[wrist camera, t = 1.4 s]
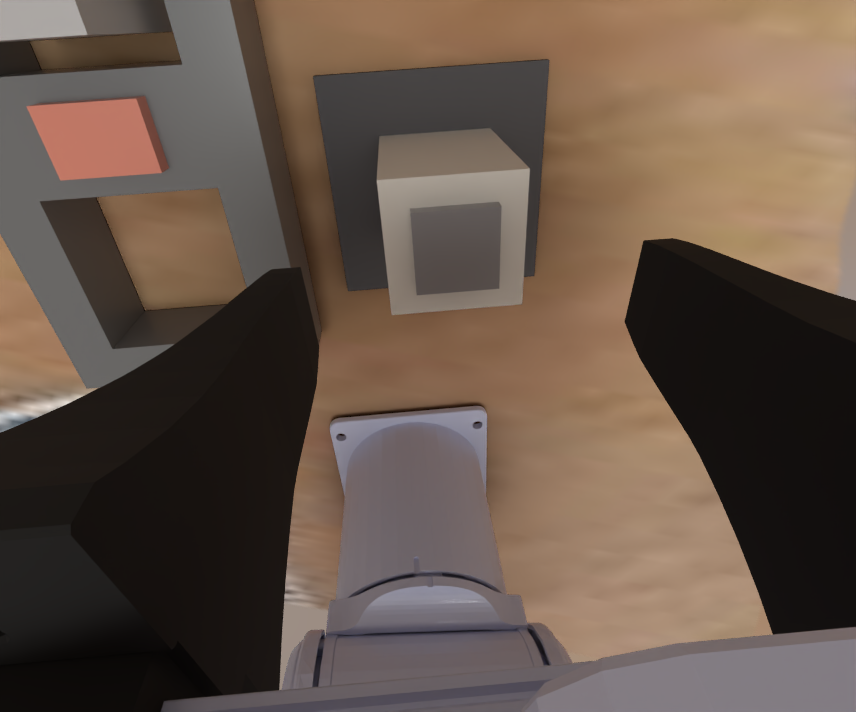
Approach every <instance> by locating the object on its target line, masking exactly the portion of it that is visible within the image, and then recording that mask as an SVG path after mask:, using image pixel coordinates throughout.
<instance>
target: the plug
mask: <svg viewBox="0 0 856 712" xmlns="http://www.w3.org/2000/svg"><path fill="white" fill-rule="evenodd" d="M529 175H530V168H529V167H528V166H527V165H526V164H525V163H524V162H523V161H522V160H521V159H520V158H519V157H518V156H517V155H516V154H515V153H514V152H513V151H512V150H511V149H510V148H509V147H508V146H507V145H506V144H505V143H504V142H503V141H502V140H501V139H500V138H499V137H498V136H497V135H496V134H495V133H494V132H493V131H492V130H491V129H490V128H484V129H471V130H457V131H444V132H430V133H416V134H403V135H389V136H379V150H378V166H377V188H378V197H379V206H380V215H381V224H382V233H383V242H384V251H385V260H386V269H387V278H388V287H389V296H390V305H391V314H392V315H400V314H412V313H424V312H436V311H448V310H460V309H472V308H484V307H496V306H508V305H520V304H522V298H523V280H524V263H525V245H526V228H527V210H528V192H529Z"/></svg>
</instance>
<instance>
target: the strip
mask: <svg viewBox="0 0 856 712" xmlns="http://www.w3.org/2000/svg"><path fill="white" fill-rule="evenodd" d="M159 32H173V34H174V37H175V41H176V44H177V48H178V51H179V54H180V58H181V61H166V62H152V63H137V64H123V65H108V66H94V67H79V68H64V69H50V70H41V69H40V66H39V64H38V62H37V59H36V57H35V55H34V52H33V50H32V48H31V45H30V43H29V41H35V40H55V39H70V38H84V37H99V36H114V35H129V34H144V33H159ZM209 188H218V190H219V193H220V197H221V200H222V204H223V207H224V211H225V214H226V218H227V221H228V224H229V228H230V231H231V235H232V238H233V242H234V245H235V249H236V252H237V256H238V259H239V263H240V266H241V270H242V273H243V276H244V280H245V283H246V287H249V286H250V285H251V284H252V283H253V282H255V281H256V280H257V279H258V278H260V277H261V276H262V275H263V274H265V273H266V272H268V271H269V270H271V269H281V268H294V267H301V271H302V275H303V279H304V284H305V288H306V292H307V296H308V301H309V305H310V309H311V313H312V318H313V322H314V326H315V330H316V335H317V339H318V343H319V341H320V337H321V332H322V329H321V325H320V320H319V315H318V310H317V305H316V300H315V295H314V291H313V286H312V281H311V276H310V271H309V266H308V261H307V257H306V252H305V247H304V242H303V237H302V232H301V227H300V222H299V218H298V213H297V208H296V203H295V198H294V193H293V188H292V184H291V179H290V174H289V169H288V164H287V159H286V154H285V150H284V145H283V140H282V135H281V130H280V125H279V120H278V116H277V111H276V106H275V101H274V96H273V91H272V86H271V81H270V77H269V72H268V67H267V62H266V57H265V52H264V47H263V43H262V38H261V33H260V28H259V23H258V18H257V13H256V9H255V4H254V0H0V234H1V236H2V238H3V239H4V241H5V243H6V245H7V247H8V248H9V250H10V252H11V254H12V256H13V257H14V259H15V261H16V263H17V265H18V266H19V268H20V270H21V272H22V273H23V275H24V277H25V279H26V281H27V282H28V284H29V286H30V288H31V290H32V291H33V293H34V295H35V297H36V299H37V300H38V302H39V304H40V306H41V308H42V309H43V311H44V313H45V315H46V316H47V318H48V320H49V322H50V324H51V325H52V327H53V329H54V331H55V333H56V334H57V336H58V338H59V340H60V342H61V343H62V345H63V347H64V349H65V350H66V352H67V354H68V356H69V358H70V359H71V361H72V363H73V365H74V367H75V368H76V370H77V372H78V374H79V376H80V377H81V379H82V381H83V383H84V384H85V386H86V388H99V387H102V386H104V385H106V384H108V383H110V382H112V381H114V380H116V379H118V378H120V377H122V376H124V375H125V374H127V373H129V372H131V371H133V370H134V369H136V368H138V367H139V366H141V365H142V364H144V363H146V362H147V361H149V360H151V359H152V358H154V357H156V356H157V355H159V354H160V353H162V352H164V351H165V350H167V349H168V348H170V347H171V346H173V345H174V344H176V343H177V342H178V341H180V340H181V339H183V338H184V337H185V336H187V335H188V334H189V333H191V332H192V331H193V330H195V329H196V328H197V327H199V326H200V325H201V324H203V323H204V322H205V321H207V320H208V319H209V318H211V317H212V316H213V315H215V314H216V313H217V312H218V311H220V310H221V309H222V308H223V307H224V306H226V305H227V304H225V305H213V306H201V307H189V308H177V309H164V310H152V311H144V309H143V307H142V304H141V302H140V300H139V297H138V295H137V293H136V290H135V288H134V286H133V283H132V281H131V279H130V276H129V274H128V272H127V269H126V267H125V265H124V262H123V260H122V258H121V255H120V253H119V251H118V248H117V246H116V244H115V241H114V239H113V237H112V234H111V232H110V230H109V227H108V225H107V223H106V220H105V218H104V216H103V213H102V211H101V209H100V206H99V204H98V202H97V199H96V197H104V196H117V195H130V194H143V193H156V192H170V191H183V190H196V189H209Z"/></svg>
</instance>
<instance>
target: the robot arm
mask: <svg viewBox="0 0 856 712" xmlns="http://www.w3.org/2000/svg"><path fill="white" fill-rule="evenodd" d="M625 324H626V326H627V329H628V331H629V334H630V336H631V339H632V341H633V344H634V346H635V348H636V351H637V353H638V355H639V357H640V359H641V361H642V363H643V364H644V366H645V368H646V369H647V371H648V372H649V374H650V376H651V377H652V379H653V381H654V382H655V384H656V385H657V387H658V389H659V390H660V392H661V393H662V395H663V396H664V398H665V400H666V401H667V403H668V404H669V406H670V408H671V409H672V411H673V412H674V414H675V415H676V417H677V419H678V420H679V422H680V423H681V425H682V426H683V428H684V430H685V431H686V433H687V434H688V436H689V438H690V439H691V441H692V443H693V445H694V446H695V448H696V450H697V452H698V454H699V455H700V457H701V459H702V462H703V464H704V466H705V468H706V470H707V472H708V474H709V476H710V478H711V480H712V483H713V485H714V487H715V489H716V491H717V493H718V495H719V497H720V500H721V502H722V504H723V507H724V509H725V511H726V514H727V516H728V518H729V520H730V523H731V525H732V527H733V530H734V532H735V534H736V537H737V539H738V541H739V544H740V547H741V549H742V552H743V554H744V557H745V559H746V562H747V564H748V567H749V570H750V572H751V575H752V577H753V580H754V582H755V585H756V588H757V590H758V593H759V596H760V598H761V601H762V604H763V607H764V610H765V613H766V616H767V619H768V622H769V624H770V627H771V630H772V633H773V635H764V636H753V637H742V638H731V639H720V640H709V641H699V642H688V643H677V644H672V645H667V646H662V647H657V648H651V649H646V650H641V651H636V652H631V653H626V654H621V655H615V656H610V657H605V658H601V659H599V660H596V661H588V662H578V663H572V661H571V659H570V657H569V655H568V653H567V651H566V650H565V648H564V647H563V645H562V644H561V643H560V642H559V641H558V640H557V639H556V638H555V636H554V635H553V633H552V632H551V631H550V630H549V629H548V628H547V627H546V626H545V625H543V624H542V623H527V621H526V616H525V612H524V608H523V603H522V599H521V596H520V595H509V594H507V592H506V587H505V583H504V578H503V573H502V568H501V564H500V559H499V554H498V550H497V545H496V540H495V535H494V531H493V526H492V521H491V516H490V512H489V507H488V502H487V497H486V459H487V414H486V410H485V409H484V408H483V407H481V406H469V407H458V408H446V409H435V410H424V411H412V412H401V413H390V414H378V415H367V416H356V417H345V418H337V419H334V420H333V421H332V422H331V423H330V433H331V438H332V442H333V447H334V451H335V456H336V460H337V465H338V469H339V473H340V478H341V482H342V487H343V491H344V496H345V500H344V511H343V522H342V534H341V545H340V556H339V568H338V579H337V591H336V600H331V601H330V602H329V610H328V620H327V630H326V636H325V632H324V630H310V631H308V632H307V633H306V635H305V636H304V639H303V640H302V641H301V642H300V643H299V644H298V645H297V646H296V647H295V648H294V650H293V651H292V653H291V655H290V658H289V661H288V665H287V668H286V672H285V677H284V681H283V687H282V690H279V683H280V660H281V640H282V623H283V609H284V594H285V579H286V568H287V557H288V545H289V534H290V524H291V515H292V505H293V496H294V488H295V482H296V476H297V470H298V466H299V461H300V457H301V452H302V448H303V444H304V439H305V435H306V430H307V426H308V421H309V417H310V412H311V408H312V403H313V399H314V394H315V389H316V384H317V372H318V357H319V343H318V339H317V335H316V330H315V326H314V322H313V318H312V313H311V309H310V305H309V301H308V296H307V292H306V288H305V284H304V279H303V275H302V271H301V267H294V268H281V269H271V270H269V271H268V272H266V273H265V274H263V275H262V276H261V277H260V278H258V279H257V280H256V281H255V282H253V283H252V284H251V285H250V286H249V287H247V288H246V289H245V290H244V291H243V292H241V293H240V294H239V295H238V296H237V297H235V298H234V299H233V300H232V301H231V302H229V303H228V304H227V305H226V306H224V307H223V308H222V309H221V310H220V311H218V312H217V313H216V314H215V315H213V316H212V317H211V318H209V319H208V320H207V321H205V322H204V323H203V324H201V325H200V326H199V327H197V328H196V329H195V330H193V331H192V332H191V333H189V334H188V335H187V336H185V337H184V338H183V339H181V340H180V341H178V342H177V343H176V344H174V345H173V346H171V347H170V348H168V349H167V350H165V351H164V352H162V353H160V354H159V355H157V356H156V357H154V358H152V359H151V360H149V361H147V362H146V363H144V364H142V365H141V366H139V367H138V368H136V369H134V370H133V371H131V372H129V373H127V374H125V375H124V376H122V377H120V378H118V379H116V380H114V381H112V382H110V383H108V384H106V385H104V386H102V387H100V388H98V389H96V390H94V391H93V392H91V393H89V394H87V395H85V396H83V397H81V398H79V399H77V400H75V401H73V402H71V403H69V404H67V405H64V406H62V407H60V408H58V409H56V410H53V411H51V412H49V413H47V414H44V415H42V416H40V417H38V418H35V419H33V420H31V421H28V422H26V423H23V424H21V425H18V426H16V427H14V428H11V429H9V430H6V431H4V432H1V433H0V712H856V301H855V300H851V299H848V298H844V297H841V296H838V295H834V294H831V293H828V292H825V291H822V290H819V289H816V288H813V287H810V286H807V285H804V284H801V283H798V282H795V281H793V280H790V279H787V278H784V277H781V276H779V275H776V274H773V273H771V272H768V271H765V270H762V269H760V268H757V267H755V266H752V265H749V264H747V263H744V262H742V261H739V260H736V259H734V258H731V257H729V256H726V255H723V254H721V253H718V252H715V251H713V250H710V249H707V248H704V247H701V246H699V245H696V244H693V243H689V242H686V241H682V240H678V239H673V238H671V239H658V240H645V241H643V245H642V250H641V254H640V258H639V263H638V267H637V271H636V275H635V280H634V284H633V288H632V293H631V297H630V301H629V306H628V310H627V314H626V318H625ZM477 421H480V423H478V424H474V422H477ZM340 433H341V434H344V436H340V435H338V434H340Z"/></svg>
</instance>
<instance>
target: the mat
mask: <svg viewBox="0 0 856 712" xmlns="http://www.w3.org/2000/svg"><path fill="white" fill-rule="evenodd" d="M548 73H549V60H548V59H545V60H531V61H516V62H502V63H488V64H474V65H459V66H445V67H431V68H417V69H402V70H388V71H374V72H359V73H345V74H331V75H317V76H313V79H314V85H315V91H316V97H317V103H318V109H319V115H320V122H321V128H322V134H323V140H324V146H325V152H326V159H327V165H328V171H329V177H330V183H331V189H332V196H333V202H334V208H335V214H336V220H337V226H338V232H339V239H340V245H341V251H342V257H343V263H344V269H345V276H346V282H347V288H348V291H357V290H369V289H381V288H389V287H388V278H387V269H386V260H385V251H384V242H383V233H382V224H381V215H380V206H379V197H378V188H377V166H378V150H379V136H389V135H403V134H416V133H430V132H444V131H457V130H471V129H484V128H490V129H491V130H492V131H493V132H494V133H495V134H496V135H497V136H498V137H499V138H500V139H501V140H502V141H503V142H504V143H505V144H506V145H507V146H508V147H509V148H510V149H511V150H512V151H513V152H514V153H515V154H516V155H517V156H518V157H519V158H520V159H521V160H522V161H523V162H524V163H525V164H526V165H527V166H528V167H529V168H530V175H529V192H528V210H527V228H526V245H525V263H524V277H528V276H534V273H535V258H536V244H537V230H538V216H539V201H540V187H541V173H542V158H543V144H544V130H545V116H546V101H547V87H548Z"/></svg>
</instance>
